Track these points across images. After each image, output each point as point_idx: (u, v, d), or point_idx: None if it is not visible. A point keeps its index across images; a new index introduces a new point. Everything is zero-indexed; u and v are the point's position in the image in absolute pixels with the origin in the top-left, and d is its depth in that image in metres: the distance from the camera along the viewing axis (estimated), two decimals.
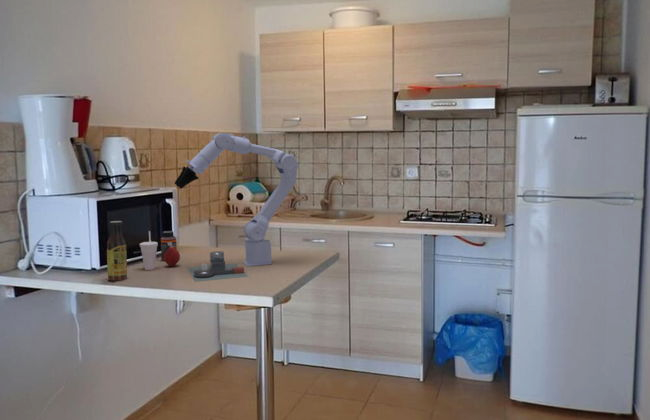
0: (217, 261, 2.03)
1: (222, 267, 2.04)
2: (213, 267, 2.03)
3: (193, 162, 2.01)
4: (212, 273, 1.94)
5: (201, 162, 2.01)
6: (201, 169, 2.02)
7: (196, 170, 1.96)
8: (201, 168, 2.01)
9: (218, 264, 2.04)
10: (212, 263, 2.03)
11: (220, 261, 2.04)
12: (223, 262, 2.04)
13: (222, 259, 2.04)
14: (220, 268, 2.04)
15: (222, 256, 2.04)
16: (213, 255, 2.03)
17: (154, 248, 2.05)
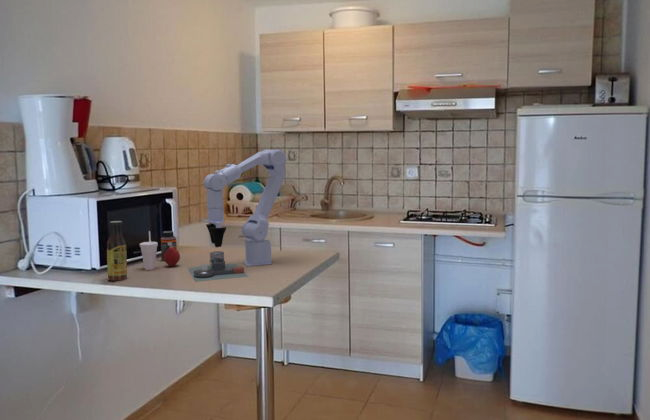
0: (217, 261, 2.03)
1: (222, 267, 2.04)
2: (213, 267, 2.03)
3: (210, 219, 2.01)
4: (212, 273, 1.94)
5: (216, 214, 2.01)
6: (221, 218, 2.02)
7: (219, 225, 1.97)
8: (220, 217, 2.02)
9: (218, 264, 2.04)
10: (212, 263, 2.03)
11: (220, 261, 2.04)
12: (223, 262, 2.04)
13: (222, 259, 2.04)
14: (220, 268, 2.04)
15: (222, 256, 2.04)
16: (213, 255, 2.03)
17: (154, 248, 2.05)
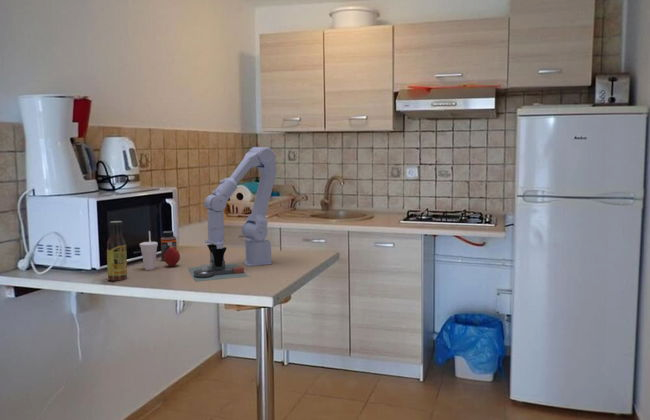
0: None
1: (222, 267, 2.04)
2: (213, 267, 2.03)
3: (211, 239, 2.02)
4: (212, 273, 1.94)
5: (216, 234, 2.02)
6: (222, 238, 2.03)
7: (219, 246, 1.98)
8: (221, 238, 2.03)
9: None
10: (212, 263, 2.03)
11: None
12: (223, 262, 2.04)
13: None
14: (220, 268, 2.04)
15: None
16: None
17: (154, 248, 2.05)
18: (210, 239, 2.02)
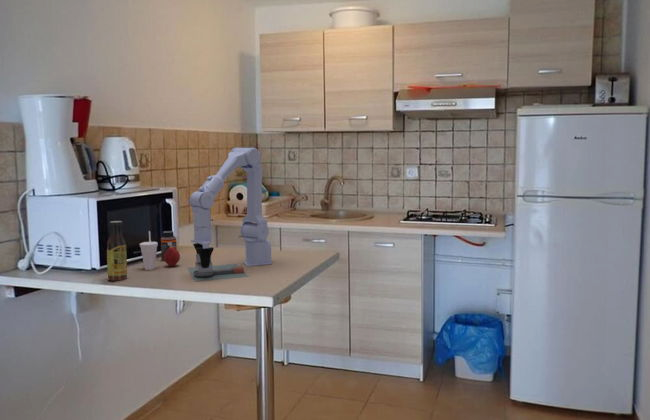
0: None
1: (209, 269, 1.94)
2: (200, 269, 1.92)
3: (197, 238, 1.91)
4: (212, 273, 1.94)
5: (203, 233, 1.91)
6: (208, 237, 1.92)
7: (205, 245, 1.87)
8: (207, 237, 1.92)
9: None
10: (199, 265, 1.92)
11: None
12: (210, 264, 1.94)
13: None
14: (207, 270, 1.94)
15: None
16: None
17: (154, 248, 2.05)
18: (196, 238, 1.92)
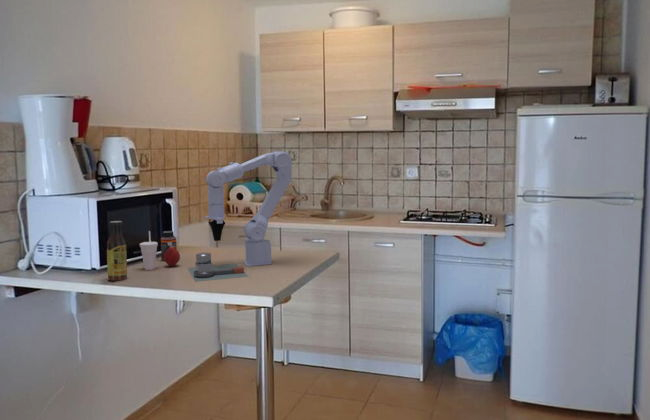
0: (204, 263, 1.93)
1: (209, 269, 1.94)
2: (200, 269, 1.92)
3: (211, 215, 2.05)
4: (212, 273, 1.94)
5: (216, 210, 2.05)
6: (222, 214, 2.06)
7: (219, 221, 2.01)
8: (221, 213, 2.06)
9: (205, 266, 1.93)
10: (199, 265, 1.92)
11: (207, 263, 1.93)
12: (210, 264, 1.94)
13: (209, 261, 1.94)
14: (207, 270, 1.94)
15: (209, 258, 1.94)
16: (200, 257, 1.92)
17: (154, 248, 2.05)
18: (210, 214, 2.05)
